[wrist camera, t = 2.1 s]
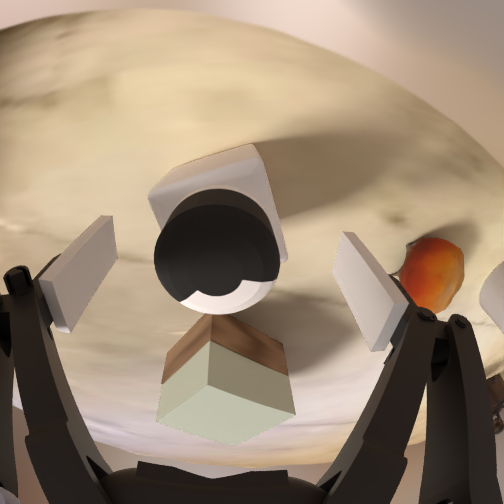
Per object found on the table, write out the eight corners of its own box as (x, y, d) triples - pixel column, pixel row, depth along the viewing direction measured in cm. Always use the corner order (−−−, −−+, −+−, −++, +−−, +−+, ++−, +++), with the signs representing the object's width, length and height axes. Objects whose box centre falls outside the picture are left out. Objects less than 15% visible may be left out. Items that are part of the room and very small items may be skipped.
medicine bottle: (169, 169, 22) (113, 228, 11) (253, 142, 21) (273, 175, 10) (198, 242, 25) (177, 341, 14) (275, 220, 24) (306, 311, 14)
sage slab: (162, 385, 28) (156, 421, 23) (210, 340, 24) (207, 384, 20) (233, 412, 31) (234, 445, 27) (288, 376, 28) (295, 414, 23)
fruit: (393, 230, 24) (464, 268, 18) (422, 219, 28) (478, 248, 22) (372, 299, 28) (430, 338, 22) (403, 277, 32) (452, 308, 26)
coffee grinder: (501, 371, 51) (525, 412, 35) (481, 394, 56) (502, 433, 40) (476, 382, 49) (502, 430, 33) (454, 406, 54) (476, 451, 39)
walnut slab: (167, 351, 32) (161, 383, 28) (212, 304, 29) (210, 338, 24) (231, 381, 35) (232, 411, 31) (282, 342, 32) (288, 375, 28)
